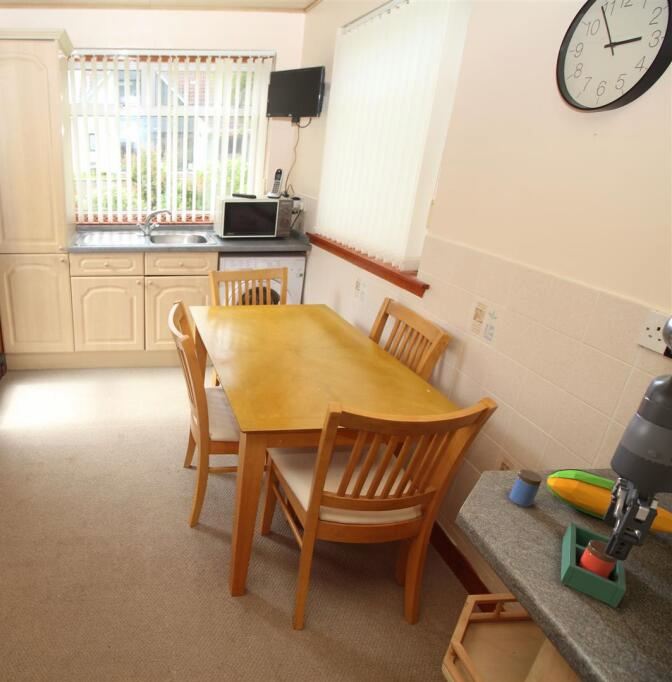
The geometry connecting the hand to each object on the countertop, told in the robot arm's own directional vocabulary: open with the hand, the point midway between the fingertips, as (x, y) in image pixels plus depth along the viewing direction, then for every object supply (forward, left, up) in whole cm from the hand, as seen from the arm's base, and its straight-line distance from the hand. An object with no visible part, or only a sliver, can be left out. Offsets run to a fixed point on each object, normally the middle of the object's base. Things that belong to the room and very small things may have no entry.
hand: (612, 539), depth 71 cm
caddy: (0, -3, -9) cm, 9 cm away
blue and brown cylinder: (+10, -16, -9) cm, 21 cm away
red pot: (0, 0, -8) cm, 8 cm away
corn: (-3, -22, -9) cm, 24 cm away
